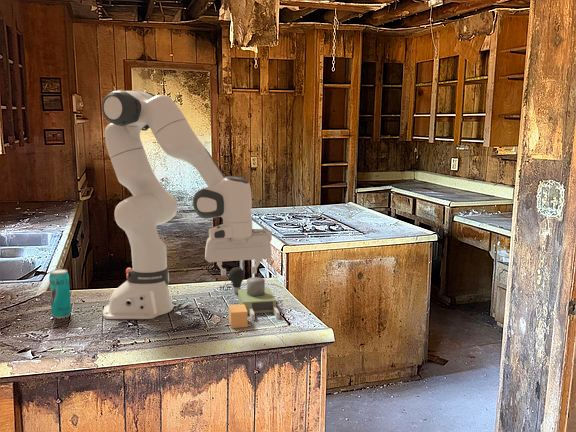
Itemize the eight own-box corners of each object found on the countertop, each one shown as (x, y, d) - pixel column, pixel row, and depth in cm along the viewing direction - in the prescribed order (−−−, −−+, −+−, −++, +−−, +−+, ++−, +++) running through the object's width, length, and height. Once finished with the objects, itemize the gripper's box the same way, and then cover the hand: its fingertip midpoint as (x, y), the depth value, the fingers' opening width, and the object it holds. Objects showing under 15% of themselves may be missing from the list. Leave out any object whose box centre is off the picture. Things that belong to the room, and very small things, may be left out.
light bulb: (232, 296, 193) (232, 270, 191) (227, 292, 198) (226, 266, 196) (247, 294, 195) (246, 268, 194) (241, 290, 200) (240, 264, 199)
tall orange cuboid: (231, 328, 163) (231, 312, 162) (228, 320, 170) (228, 305, 169) (247, 327, 164) (247, 311, 163) (244, 319, 171) (244, 304, 170)
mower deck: (245, 321, 169) (245, 293, 167) (238, 300, 189) (237, 275, 187) (279, 318, 171) (279, 291, 170) (268, 298, 191) (268, 274, 189)
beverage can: (49, 316, 172) (45, 271, 170) (66, 312, 176) (63, 267, 174) (56, 320, 168) (53, 274, 166) (74, 316, 172) (71, 271, 170)
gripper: (269, 226, 168) (270, 269, 170) (203, 229, 163) (205, 273, 166) (273, 230, 162) (274, 274, 164) (205, 233, 157) (206, 279, 160)
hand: (238, 274), depth 165 cm, fingers open, 8 cm apart
